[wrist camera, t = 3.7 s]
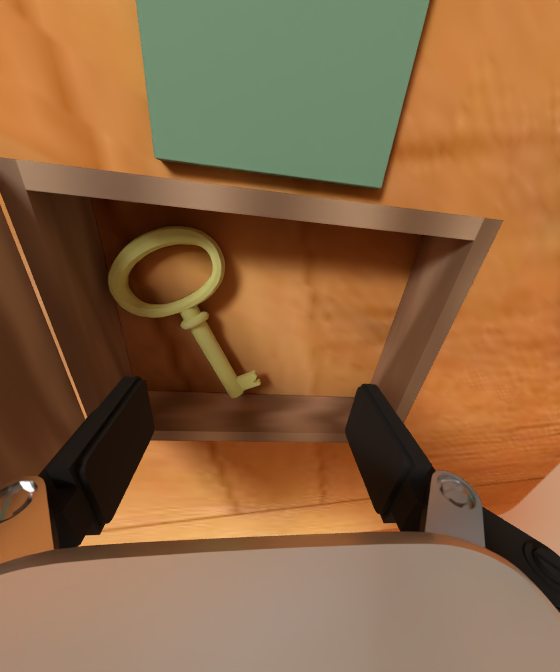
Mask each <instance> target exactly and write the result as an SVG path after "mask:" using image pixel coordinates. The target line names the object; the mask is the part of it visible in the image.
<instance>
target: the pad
mask: <svg viewBox="0 0 560 672" xmlns="http://www.w3.org/2000/svg"><path fill="white" fill-rule="evenodd" d="M429 1H430V0H136V5H137V13H138V21H139V30H140V38H141V47H142V55H143V64H144V72H145V81H146V89H147V98H148V106H149V114H150V123H151V131H152V140H153V148H154V157H155V158H156V159H158V160H160V161H167V162H175V163H183V164H190V165H198V166H205V167H213V168H220V169H228V170H235V171H243V172H250V173H258V174H266V175H273V176H281V177H288V178H296V179H303V180H311V181H318V182H326V183H333V184H341V185H349V186H356V187H364V188H371V189H378V188H381V187H382V183H383V179H384V175H385V171H386V168H387V164H388V160H389V156H390V152H391V148H392V144H393V141H394V137H395V133H396V129H397V125H398V121H399V117H400V114H401V110H402V106H403V102H404V98H405V94H406V90H407V86H408V83H409V79H410V75H411V71H412V67H413V63H414V59H415V56H416V52H417V48H418V44H419V40H420V36H421V32H422V28H423V25H424V21H425V17H426V13H427V9H428V5H429Z"/></svg>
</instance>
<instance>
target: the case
mask: <svg viewBox="0 0 560 672" xmlns="http://www.w3.org/2000/svg"><path fill="white" fill-rule="evenodd" d="M0 193H1V195H2V198H3V200H4V203H5V205H6V208H7V211H8V213H9V216H10V218H11V221H12V223H13V226H14V229H15V231H16V234H17V236H18V239H19V242H20V244H21V247H22V249H23V252H24V254H25V257H26V260H27V262H28V265H29V267H30V270H31V272H32V275H33V278H34V280H35V283H36V285H37V288H38V290H39V293H40V296H41V298H42V301H43V303H44V306H45V309H46V311H47V314H48V316H49V319H50V321H51V324H52V327H53V329H54V332H55V334H56V337H57V339H58V342H59V345H60V347H61V350H62V352H63V355H64V358H65V360H66V363H67V365H68V368H69V370H70V373H71V376H72V378H73V381H74V383H75V386H76V388H77V391H78V394H79V396H80V399H81V401H82V404H83V406H84V409H85V412H86V414H87V417H88V416H89V415H90V414H91V413H92V412H93V411H94V410H95V409H97V408H98V406H99V405H100V404H101V403H102V402H103V400H104V399H105V398H106V397H107V396H108V394H109V393H110V392H111V391H112V390H113V389H114V387H115V386H116V385H117V384H118V383H119V381H120V380H121V379H122V378H123V377H125V376H133V375H132V371H131V367H130V363H129V359H128V354H127V350H126V346H125V342H124V337H123V333H122V329H121V325H120V321H119V316H118V312H117V308H116V304H115V299H114V297H113V296H112V294H111V292H110V289H109V285H108V270H107V266H106V261H105V257H104V253H103V249H102V245H101V240H100V236H99V232H98V228H97V223H96V219H95V215H94V211H93V207H92V202H91V198H90V197H94V198H103V199H112V200H121V201H130V202H139V203H147V204H156V205H165V206H174V207H183V208H191V209H200V210H209V211H218V212H227V213H236V214H244V215H253V216H262V217H271V218H280V219H288V220H297V221H306V222H315V223H324V224H333V225H341V226H350V227H359V228H368V229H377V230H386V231H394V232H403V233H412V234H421V235H424V238H423V241H422V243H421V246H420V249H419V252H418V254H417V257H416V260H415V263H414V266H413V268H412V271H411V274H410V277H409V279H408V282H407V285H406V288H405V291H404V293H403V296H402V299H401V302H400V304H399V307H398V310H397V313H396V316H395V318H394V321H393V324H392V327H391V329H390V332H389V335H388V338H387V340H386V343H385V346H384V349H383V352H382V354H381V357H380V360H379V363H378V365H377V368H376V371H375V374H374V377H373V379H372V382H371V384H375V385H377V386H378V388H379V389H380V390H381V392H382V393H383V395H384V396H385V398H386V399H387V401H388V402H389V403H390V405H391V406H392V408H393V409H394V411H395V412H396V414H397V415H398V416H399V418H400V419H401V421H402V422H403V423H404V421H405V419H406V417H407V415H408V413H409V411H410V409H411V407H412V405H413V403H414V401H415V399H416V397H417V395H418V393H419V391H420V389H421V387H422V385H423V383H424V381H425V379H426V377H427V375H428V373H429V371H430V369H431V367H432V364H433V362H434V360H435V358H436V356H437V354H438V352H439V350H440V348H441V346H442V344H443V342H444V340H445V338H446V336H447V334H448V332H449V330H450V328H451V326H452V324H453V322H454V320H455V318H456V316H457V314H458V312H459V310H460V308H461V306H462V304H463V302H464V299H465V297H466V295H467V293H468V291H469V289H470V287H471V285H472V283H473V281H474V279H475V277H476V275H477V273H478V271H479V269H480V267H481V265H482V263H483V261H484V259H485V257H486V255H487V253H488V251H489V249H490V247H491V245H492V243H493V241H494V239H495V237H496V234H497V232H498V230H499V228H500V226H501V224H502V222H503V220H496V219H488V218H480V217H472V216H464V215H456V214H448V213H440V212H432V211H424V210H416V209H408V208H400V207H392V206H384V205H376V204H368V203H360V202H352V201H345V200H337V199H329V198H321V197H313V196H305V195H297V194H289V193H281V192H273V191H265V190H257V189H249V188H241V187H233V186H225V185H217V184H209V183H201V182H193V181H185V180H177V179H169V178H161V177H153V176H145V175H137V174H129V173H121V172H113V171H105V170H97V169H89V168H81V167H73V166H65V165H57V164H49V163H41V162H33V161H25V160H17V159H9V158H1V157H0ZM148 394H149V400H150V405H151V410H152V415H153V420H154V426H155V428H154V433H153V436H152V438H151V440H165V441H253V442H340V443H348V440H347V438H346V435H345V427H346V424H347V421H348V417H349V414H350V411H351V408H352V405H353V402H354V398H355V397H326V396H295V395H265V394H241V395H240V396H238V397H236V398H231V397H230V396H229V394H228V393H204V392H174V391H148ZM84 421H85V418H84V415H83V412H82V410H81V407H80V405H79V402H78V400H77V397H76V395H75V392H74V390H73V387H72V385H71V382H70V380H69V377H68V375H67V372H66V370H65V367H64V365H63V362H62V360H61V357H60V355H59V352H58V350H57V347H56V344H55V342H54V339H53V337H52V334H51V332H50V329H49V327H48V324H47V322H46V319H45V317H44V314H43V312H42V309H41V307H40V304H39V302H38V299H37V297H36V294H35V292H34V289H33V287H32V284H31V282H30V279H29V276H28V274H27V271H26V269H25V266H24V264H23V261H22V259H21V256H20V254H19V251H18V249H17V246H16V244H15V241H14V239H13V236H12V234H11V231H10V229H9V226H8V224H7V221H6V219H5V216H4V213H3V211H2V208H1V206H0V486H1V485H3V484H5V483H7V482H9V481H11V480H14V479H17V478H19V477H24V476H38V475H39V474H40V473H41V471H42V470H43V469H44V468H45V467H46V466H47V464H48V463H49V462H50V461H51V460H52V458H53V457H54V456H55V455H56V454H57V453H58V451H59V450H60V449H61V448H62V447H63V446H64V444H65V443H66V442H67V441H68V440H69V438H70V437H71V436H72V435H73V434H74V433H75V431H76V430H77V429H78V428H79V427H80V425H81V424H82V423H83V422H84Z"/></svg>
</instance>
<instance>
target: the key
mask: <svg viewBox="0 0 560 672" xmlns="http://www.w3.org/2000/svg"><path fill="white" fill-rule="evenodd" d="M176 244H187V245H197V246H200V247H202V248H204V249H205V250H206V251H207V252H208V253H209V255H210V257H211V260H212V265H213V272H212V275H211V276H210V278H209V279H208V280H207V282H206V283H205V284H204V285H203V286H202V287H201V288H200V289H199V290H197V291H195V292H194V293H192V294H191V295H189V296H187V297H185V298H183V299H180V300H177V301H175V302H171V303H167V304H148V303H146V302H143V301H141V300H140V299H138V298H137V297H136V296H135V295H134V294H133V293H132V292H131V290H130V288H129V284H128V276H129V273H130V271H131V270H132V268H133V267H134V265H135V264H136V263H137V262H138V261H139V260H141V259H142V258H143V257H145V256H146V255H147V254H149V253H151V252H153V251H155V250H158V249H160V248H163V247H167V246H171V245H176ZM224 273H225V260H224V256H223V254H222V251H221V249H220V247H219V246H218V244H217V243H216V242H215V241H214V240H213V239H212V238H211V237H210V236H209V235H207V234H206V233H204V232H202V231H200V230H197V229H194V228H190V227H184V226H166V227H161V228H158V229H154V230H152V231H149V232H146V233H144V234H142V235H141V236H139V237H137V238H135V239H134V240H133V241H131V242H130V243H128V244H127V245H126V246H125V247H124V248H123V249H122V250H121V252H120V253H119V255H118V256H117V257H116V259H115V260H114V262H113V264H112V266H111V268H110V271H109V274H108V285H109V289H110V292H111V294H112V296H113V297H114V299H115V300H116V301H117V303H118V304H119V305H120V306H121V307H122V308H124V309H125V310H126V311H128V312H130V313H132V314H135V315H137V316H141V317H151V318H156V317H165V316H169V315H173V314H176V313H180V315H181V316H182V318H183V320H184V321H182V323H181V325H180V326H181V328H182V329H184V330H189V329H190V331H191V333H192V334H193V336H194V338H195V339H196V341H197V343H198V344H199V346H200V348H201V349H202V351H203V353H204V354H205V356H206V358H207V359H208V361H209V363H210V364H211V366H212V368H213V369H214V371H215V373H216V374H217V376H218V378H219V379H220V381H221V383H222V384H223V386H224V388H225V389H226V391H227V393H228V394H229V396H230V397H231V398H236V397H238V396H240V395H241V394H242V393H243V392H244V390H247V389H250V388H252V387H255V386H258V385H261V381H260V379H257V380H256V378H257V373H256V371H255V370H254V371H251V372H248V373H245V374H243V375H240V376H237V375H236V374H235V372H234V370H233V368H232V367H231V365H230V363H229V361H228V360H227V358H226V356H225V354H224V352H223V351H222V349H221V347H220V345H219V344H218V342H217V340H216V338H215V336H214V335H213V333H212V331H211V329H210V328H209V326H208V324H207V322H206V320H207V319H208V318H209V314H208V313H207V312H204V311H203V312H200V310H199V308H198V306H197V305H198V304H200V303H202V302H203V301H205V300H206V299H208V298H209V297H210V296H211V295H212V294H213V293H214V292H215V291H216V290H217V288H218V287H219V285H220V284H221V282H222V280H223V277H224Z"/></svg>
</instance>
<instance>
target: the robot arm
mask: <svg viewBox="0 0 560 672" xmlns="http://www.w3.org/2000/svg"><path fill="white" fill-rule="evenodd" d="M154 428H155V426H154V420H153V415H152V410H151V405H150V400H149V394H148V389H147V384H146V381H145V380H142V378H141V377H136V376H125V377H123V378H122V379H121V380H120V381H119V383H118V384H117V385H116V386H115V387H114V389H113V390H112V391H111V392H110V393H109V394H108V396H107V397H106V398H105V399H104V400H103V402H102V403H101V404H100V405H99V406H98V408H97V409H95V410H94V411H93V412H92V413H91V414H90V415H89V416H88V417H87V418H86V420H85V421H84V422H83V423H82V424H81V425H80V427H79V428H78V429H77V430H76V431H75V433H74V434H73V435H72V436H71V437H70V438H69V440H68V441H67V442H66V443H65V444H64V446H63V447H62V448H61V449H60V450H59V451H58V453H57V454H56V455H55V456H54V457H53V458H52V460H51V461H50V462H49V463H48V464H47V466H46V467H45V468H44V469H43V470H42V471H41V473H40V474H39V475H38V476H24V477H19V478H17V479H14V480H11V481H9V482H7V483H5V484H3V485H1V486H0V672H560V557H559V556H558V555H557V554H556V553H555V552H554V551H552V550H551V549H550V548H548V547H547V546H545V545H544V544H542V543H541V542H539V541H537V540H536V539H534V538H532V537H531V536H529V535H528V534H526V533H524V532H523V531H521V530H519V529H518V528H516V527H515V526H513V525H511V524H510V523H508V522H506V521H504V520H503V519H502V518H500V517H498V516H497V515H495V514H494V513H492V512H490V511H489V510H487V509H485V508H484V507H482V504H481V500H480V498H479V496H478V494H477V492H476V491H475V490H474V489H473V488H472V486H471V485H470V484H468V483H467V482H466V481H465V480H464V479H462V478H461V477H459V476H458V475H456V474H454V473H451V472H449V471H444V470H440V471H435V469H434V468H433V467H432V464H431V463H430V461H429V460H428V458H427V457H426V455H425V454H424V453H423V451H422V450H421V448H420V447H419V445H418V444H417V442H416V441H415V440H414V438H413V437H412V435H411V434H410V432H409V431H408V429H407V428H406V427H405V425H404V424H403V422H402V421H401V419H400V418H399V416H398V415H397V414H396V412H395V411H394V409H393V408H392V406H391V405H390V403H389V402H388V401H387V399H386V398H385V396H384V395H383V393H382V392H381V390H380V389H379V388H378V386H377V385H375V384H362V385H361V387H358V389H357V392H356V395H355V398H354V402H353V405H352V408H351V411H350V414H349V417H348V421H347V424H346V427H345V435H346V438H347V440H348V443H349V445H350V448H351V450H352V453H353V455H354V458H355V460H356V463H357V466H358V468H359V471H360V473H361V476H362V478H363V481H364V483H365V486H366V489H367V491H368V494H369V496H370V499H371V501H372V504H373V506H374V509H375V511H376V512H377V513H378V514H380V515H381V518H382V520H383V523H397V526H398V528H399V530H400V532H361V533H335V534H309V535H285V536H262V537H240V538H218V539H198V540H178V541H158V542H138V543H123V544H108V545H94V546H81V547H78V546H79V545H80V544H81V542H82V541H83V539H84V537H85V535H100V533H101V531H102V529H103V527H104V525H105V524H107V523H109V522H110V521H111V520H112V518H113V517H114V515H115V513H116V510H117V508H118V506H119V504H120V502H121V500H122V498H123V496H124V494H125V492H126V490H127V488H128V486H129V483H130V481H131V479H132V477H133V475H134V473H135V471H136V469H137V467H138V465H139V463H140V461H141V459H142V457H143V454H144V452H145V450H146V448H147V446H148V444H149V442H150V440H151V438H152V436H153V433H154Z"/></svg>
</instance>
